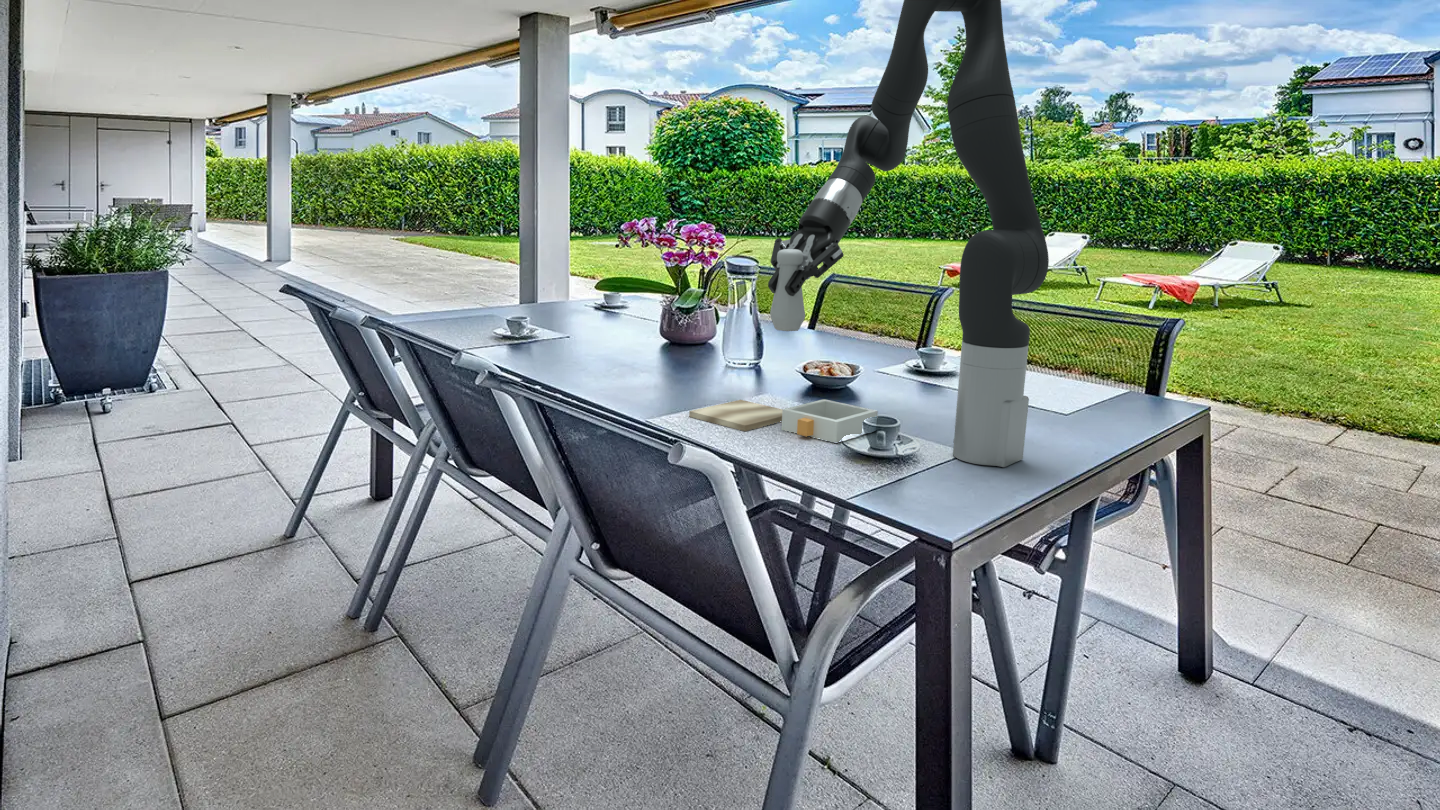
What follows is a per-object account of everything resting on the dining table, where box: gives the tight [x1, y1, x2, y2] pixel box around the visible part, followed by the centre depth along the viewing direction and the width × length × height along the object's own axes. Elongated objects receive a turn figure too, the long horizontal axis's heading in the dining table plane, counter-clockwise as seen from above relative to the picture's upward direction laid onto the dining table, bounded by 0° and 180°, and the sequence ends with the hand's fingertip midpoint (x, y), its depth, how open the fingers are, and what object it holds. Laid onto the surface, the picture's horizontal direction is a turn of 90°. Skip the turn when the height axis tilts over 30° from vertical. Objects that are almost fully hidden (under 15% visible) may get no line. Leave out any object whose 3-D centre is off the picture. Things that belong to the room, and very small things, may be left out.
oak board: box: [688, 399, 783, 432], centre depth 153 cm, size 13×13×1 cm
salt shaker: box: [769, 249, 806, 332], centre depth 145 cm, size 6×6×13 cm
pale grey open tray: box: [781, 398, 879, 442], centre depth 145 cm, size 11×13×4 cm
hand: (780, 290), depth 144 cm, fingers closed on salt shaker, 3 cm apart
